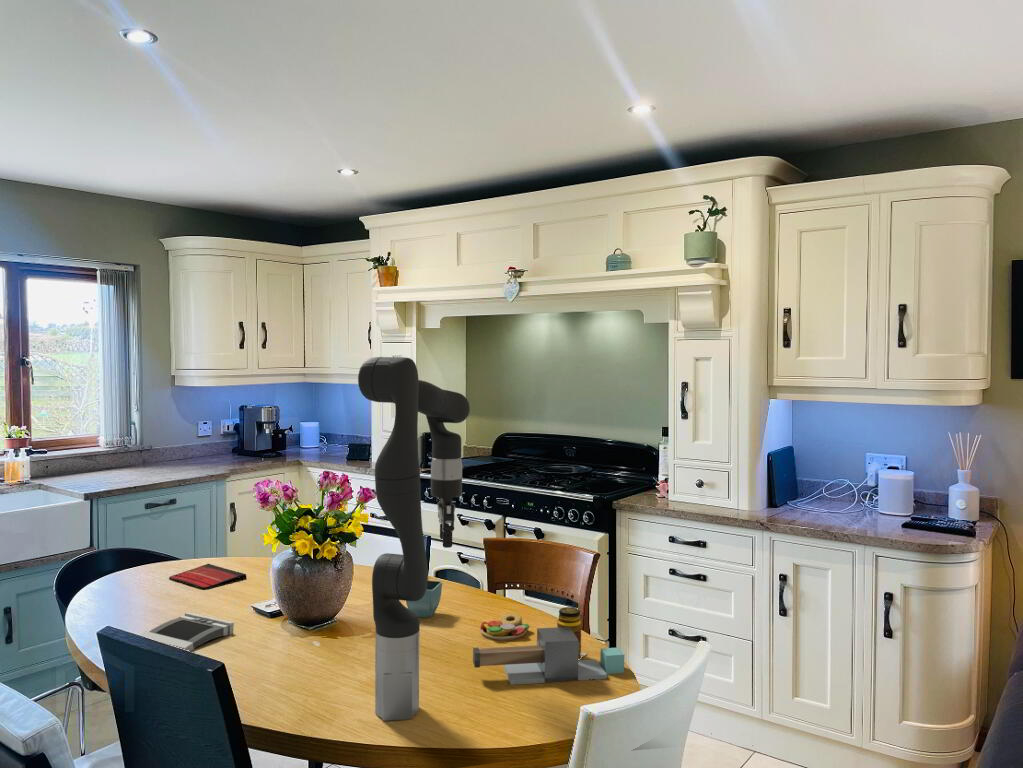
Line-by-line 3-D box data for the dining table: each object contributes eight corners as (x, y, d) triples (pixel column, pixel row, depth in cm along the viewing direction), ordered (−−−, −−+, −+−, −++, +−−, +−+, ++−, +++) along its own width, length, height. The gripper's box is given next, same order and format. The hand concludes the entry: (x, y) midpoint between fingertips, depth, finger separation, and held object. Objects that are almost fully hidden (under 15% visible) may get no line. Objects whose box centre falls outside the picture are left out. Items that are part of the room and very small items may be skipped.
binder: (208, 562, 267) (246, 573, 255) (209, 569, 267) (247, 580, 256) (165, 575, 254) (203, 587, 242) (166, 582, 254) (204, 594, 242)
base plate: (606, 678, 180) (607, 674, 180) (510, 684, 176) (510, 680, 176) (596, 663, 189) (596, 659, 189) (504, 668, 185) (504, 664, 185)
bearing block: (578, 680, 179) (578, 640, 178) (544, 682, 177) (545, 642, 177) (568, 665, 188) (569, 626, 187) (536, 666, 186) (537, 628, 186)
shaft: (572, 662, 181) (572, 647, 181) (474, 667, 177) (474, 653, 177) (568, 656, 185) (568, 642, 184) (472, 661, 181) (473, 647, 180)
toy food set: (517, 622, 218) (517, 611, 218) (536, 638, 206) (536, 626, 206) (473, 628, 213) (473, 616, 213) (490, 645, 200) (490, 633, 200)
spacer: (606, 655, 183) (606, 674, 183) (624, 654, 183) (624, 673, 184) (600, 648, 187) (600, 666, 187) (618, 647, 188) (617, 665, 188)
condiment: (575, 664, 188) (575, 616, 188) (544, 657, 192) (545, 610, 192) (587, 654, 194) (587, 607, 194) (557, 648, 199) (557, 602, 198)
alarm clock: (233, 622, 206) (184, 637, 191) (232, 639, 206) (183, 656, 191) (188, 612, 214) (137, 626, 199) (187, 629, 213) (136, 644, 199)
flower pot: (403, 618, 219) (403, 587, 219) (414, 608, 228) (414, 578, 227) (432, 621, 217) (432, 590, 217) (442, 611, 225) (442, 581, 225)
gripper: (465, 480, 178) (464, 549, 179) (458, 471, 192) (458, 535, 193) (433, 481, 177) (432, 551, 178) (428, 471, 191) (428, 536, 192)
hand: (445, 542), depth 185 cm, fingers open, 8 cm apart
